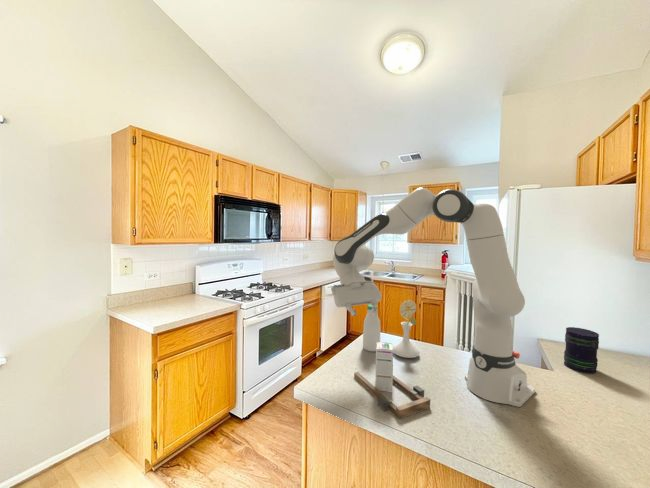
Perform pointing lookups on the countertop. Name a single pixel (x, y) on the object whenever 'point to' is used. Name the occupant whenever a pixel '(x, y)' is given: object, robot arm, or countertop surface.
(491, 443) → the countertop surface
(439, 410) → the countertop surface
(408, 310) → the flower in vase
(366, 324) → the milk bottle
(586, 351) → the storage jar
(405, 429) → the countertop surface
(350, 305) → the robot arm
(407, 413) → the beam slot
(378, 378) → the syrup box
